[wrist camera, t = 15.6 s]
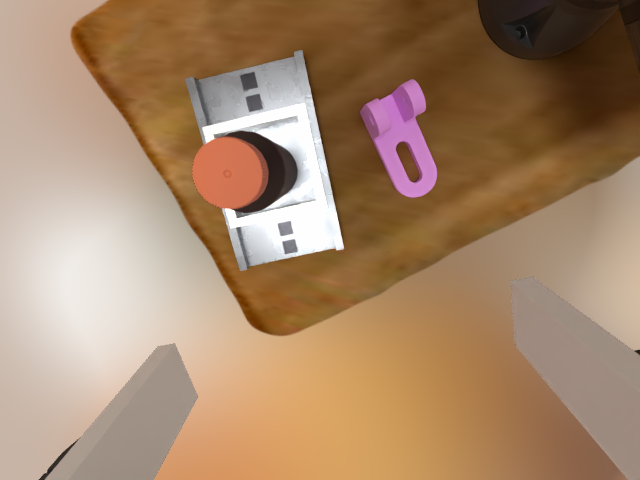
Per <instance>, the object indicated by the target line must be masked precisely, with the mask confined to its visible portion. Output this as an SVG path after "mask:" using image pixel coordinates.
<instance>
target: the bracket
mask: <svg viewBox="0 0 640 480" xmlns="http://www.w3.org/2000/svg"><path fill="white" fill-rule="evenodd" d="M425 109H426V102H425V98H424V95H423V92H422V90H421V88H420V86H419V85H418V83H417V82H416V81H415V80H413V79H411V80H409V81H407V82H405V83H404V84H402V85H400V86H399V87H398V88H397V89H396V90H395V91H394V92H393V93H392V94H390V95H389V96H387V97H385V98H383V99H381V100H379V99H377V98H376V99H374V100H373V101H371V102H369V103H367V104H365V105H364V107H363V108H362V109H361V111H360V112H359V113H360V115H361V117H362V119H363V121H364V123H365V126H366V128H367V130H368V132H369V134H370V136H371V138H372V141H373V143H374V145H375V147H376V149H377V151H378V154H379V156H380V158H381V160H382V162H383V164H384V166H385V169H386V171H387V173H388V175H389V177H390V179H391V181H392V184H393V186H394V187H395V189H396V190H397V191H398V192H399V193H401V194H402V195H405V196H408V197H420V196H423V195H425V194H426V193H428V192H429V191H430V190H431V189H432V188H433V186H434V184H435V182H436V179H437V169H436V165H435V163H434V161H433V158H432V156H431V154H430V151H429V149H428V147H427V145H426V142H425V140H424V138H423V135H422V133H421V131H420V128H419V126H418V124H417V121H416V118H415V117H416V116H417V115H419V114H421V113H423V112H424V111H425ZM399 142H404V143H406V144H407V146H408V148H409V151H410V153H411V155H412V157H413V160H414V162H415V164H416V166H417V169H418V171H419V174H420V176H419V179H418V180H417V181H416V182H411V181H410V180H409V179H408V176H407V174H406V172H405V170H404V168H403V165H402V163H401V161H400V159H399V157H398V154H397V152H396V146H397V144H398V143H399Z"/></svg>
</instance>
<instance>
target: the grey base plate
mask: <svg viewBox="0 0 640 480" xmlns="http://www.w3.org/2000/svg"><path fill="white" fill-rule="evenodd" d="M185 81H186V84H187V88H188V91H189V95H190V98H191V101H192V105H193V108H194V112H195V115H196V119H197V122H198V126H199V129H200V133H201V136H202V140H203V143H206V144H207V142H210V140H213V139H215V138H218V137H223V136H225V135H226V134H228V133H231V132H236V131H241V130H243V131H250V132H256V133H258V134H260V135H262V136H264V137H266V138H268V139H270V140H272V141H273V142H275V143H277V144H278V145H280V146H282V147H284V148H285V149H286V150H288V151H289V152H290V153H291V154H292V156H293V158H294V160H295V161H296V165H297V170H298V172H297V180H296V182H295V184H294V186H293V188H292V189H291V190H290V191H289V192H288V193H287V194H286V195H284V196H283V197H281V198H280V199H279V200H277V201H276V202H275V203H273V204H272V205H270V206H269V207H267V208H265V209H263V210H261V211H257V212H252V213H242V212H235V211H233V210H230V209H228V210H227V208H226V209H224V208H222V210H223V213H224V217H225V220H226V224H227V227H228V231H229V234H230V238H231V241H232V245H233V248H234V252H235V255H236V259H237V262H238V266H239V269H240V271H243V270H247V269H248V268H249V267H250V266H253V265H258V264H262V263H267V262H272V261H276V260H281V259H286V258H290V257H295V256H300V255H304V254H309V253H314V252H318V251H323V250H328V249H332V248H336V250H341V249H344V246H343V241H342V237H341V232H340V227H339V223H338V218H337V213H336V208H335V204H334V199H333V194H332V189H331V185H330V180H329V175H328V170H327V166H326V161H325V156H324V152H323V147H322V142H321V137H320V133H319V128H318V123H317V118H316V114H315V109H314V104H313V100H312V95H311V90H310V85H309V81H308V76H307V71H306V66H305V62H304V57H303V52H302V50H300V51H296V52H294V57H290V58H286V59H282V60H278V61H274V62H270V63H266V64H262V65H258V66H253V67H249V68H245V69H241V70H237V71H233V72H229V73H225V74H221V75H217V76H212V77H208V78H204V79H200V80H197V79H196V78H194V77H189V78H185ZM204 145H205V144H204Z"/></svg>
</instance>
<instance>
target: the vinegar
mask: <svg viewBox="0 0 640 480" xmlns="http://www.w3.org/2000/svg"><path fill="white" fill-rule="evenodd" d="M204 144H205V145H204V146H203V145H202V146H203V147H202V148H200V150H198V151H199V152H198V153H197V155H195V156H196V158H194V159H195V160H194V161H193V162H194V163H193V164H192V165H193V171H192V172H193V174H192V175H193V177H192V178H194V180H193V181H194V182H195V183H194V184H195V185H196V186H195V187H197V190H199V192H200V195H202V196H203V197H204V198H205V200H207V202H210V203H211V204H212V205H215V207H216V206H218V208H219V207H220V208H221V209H222V208H224V209H226V208H227V210H228V209H230V210H233V211H235V212H242V213H252V212H257V211H261V210H263V209H265V208H267V207H269V206H270V205H272V204H273V203H275V202H276V201H277V200H279V199H280V198H281V197H283V196H284V195H286V194H287V193H288V192H289V191H290V190H291V189H292V188H293V186H294V184H295V182H296V180H297V172H298V170H297V165H296V161H295V160H294V158H293V156H292V154H291V153H290V152H289V151H288V150H286V149H285V148H284V147H282V146H280V145H278V144H277V143H275V142H273V141H272V140H270V139H268V138H266V137H264V136H262V135H260V134H258V133H256V132H250V131H243V130H241V131H236V132H231V133H228V134H226V135H225V136H223V137H218V138H215V139H213V140H210V142H207V144H206V143H204ZM199 192H198V193H199ZM203 197H202V198H203Z"/></svg>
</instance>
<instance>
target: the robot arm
mask: <svg viewBox="0 0 640 480" xmlns="http://www.w3.org/2000/svg"><path fill="white" fill-rule="evenodd" d="M478 1H479V10H480V15H481V18H482V21H483V24H484V26H485V28H486V30H487V32H488V34H489V35H490V37H491V38H492V39H493V41H494V42H495V43H496V44H497V45H498V46H499V47H500V48H502V49H503V50H504V51H506V52H508V53H509V54H511V55H514V56H516V57H519V58H523V59H532V60H536V59H545V58H550V57H553V56H556V55H558V54H561V53H563V52H565V51H567V50H569V49H571V48H573V47H575V46H577V45H579V44H580V43H582V42H583V41H585V40H586V39H588V38H589V37H590V36H591V35H593V34H594V33H595V32H596V31H597V30H598V29H599V28H600V27H601V26H602V25H603V24H604V23H605V22H606V21H607V20H608V19H609V18H610V17H611V16H612V15H613V14H614V13H615V12H616V11H617V10H618V9H620V12H621V15H622V18H623V21H624V25H625V29H626V32H627V35H628V38H629V41H630V44H631V47H632V50H633V53H634V57H635V60H636V63H637V66H638V69H639V72H640V0H478ZM510 283H511V297H512V310H513V323H514V337H515V346H516V347H517V348H518V349H519V350H520V351H521V353H522V354H523V355H524V356H525V358H527V360H528V361H529V362H530V363H531V365H532V366H533V367H534V368H535V369H536V371H537V372H538V373H539V374H540V375H541V377H542V378H543V379H544V380H545V381H546V383H547V384H548V385H549V386H550V387H551V389H552V390H553V391H554V392H555V393H556V394H557V396H558V397H559V398H560V399H561V400H562V402H563V403H564V404H565V405H566V406H567V408H568V409H569V410H570V411H571V412H572V413H573V415H574V416H575V417H576V418H577V420H578V421H579V422H580V423H581V424H582V425H583V427H584V428H585V429H586V430H587V431H588V433H589V434H590V435H591V436H592V437H593V439H594V440H595V441H596V442H597V443H598V444H599V446H600V447H601V448H602V449H603V451H604V452H605V453H606V454H607V455H608V457H610V459H611V460H612V461H613V462H614V464H615V465H616V466H617V467H618V468H619V470H620V471H621V472H622V473H623V474H624V476H625V477H626V478H627V479H628V480H640V350H636V351H633V350H632V349H631V348H629V347H628V346H627V345H625V344H624V343H622V342H621V341H620V340H618V339H617V338H616V337H614V336H613V335H611V334H610V333H609V332H607V331H606V330H605V329H603V328H602V327H601V326H599V325H598V324H597V323H595V322H594V321H592V320H591V319H590V318H588V317H587V316H586V315H584V314H583V313H582V312H580V311H579V310H577V309H576V308H575V307H573V306H572V305H571V304H569V303H568V302H566V301H565V300H564V299H562V298H561V297H560V296H558V295H557V294H556V293H554V292H553V291H551V290H550V289H549V288H547V287H546V286H545V285H543V284H542V283H541V282H539V281H538V280H536V279H535V278H534V277H529V278H524V279H519V280H513V281H510ZM197 398H198V395H197V393H196V391H195V388H194V386H193V384H192V381H191V379H190V377H189V375H188V373H187V370H186V368H185V366H184V364H183V361H182V359H181V356H180V354H179V352H178V350H177V347H176V345H175V344H169V345H164V346H158V347H157V348H156V349H155V350H154V352H153V353H152V354H151V355H150V356H149V357H148V359H147V360H146V361H145V362H144V363H143V364H142V366H141V367H140V368H139V369H138V370H137V372H136V373H135V374H134V375H133V376H132V377H131V379H130V380H129V381H128V382H127V383H126V384H125V386H124V387H123V388H122V389H121V390H120V392H119V393H118V394H117V395H116V396H115V398H114V399H113V400H112V401H111V402H110V403H109V405H108V406H107V407H106V408H105V409H104V410H103V412H102V413H101V414H100V415H99V417H97V419H96V420H95V421H94V422H93V423H92V425H91V426H90V427H89V428H88V429H87V430H86V432H85V433H84V434H83V435H82V436H81V437H80V438H79V439H78V440H77V441H76V442H74V443H73V444H72V445H71V446H70V447H69V448H67V449H66V450H65V451H64V452H63V453H62V454H61V455H60V456H59V457H58V458H57V460H56V461H55V462H54V463H53V464H52V465H51V466H50V468H49V469H48V470H47V473H45V474H44V475H43V476H42V477H41V478H40V479H39V480H154V479H155V477H156V475H157V473H158V471H159V469H160V467H161V465H162V464H163V462H164V460H165V458H166V456H167V454H168V452H169V450H170V448H171V447H172V445H173V443H174V441H175V439H176V437H177V435H178V433H179V432H180V430H181V428H182V426H183V424H184V422H185V420H186V419H187V417H188V415H189V413H190V411H191V409H192V407H193V405H194V404H195V402H196V400H197Z"/></svg>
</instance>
